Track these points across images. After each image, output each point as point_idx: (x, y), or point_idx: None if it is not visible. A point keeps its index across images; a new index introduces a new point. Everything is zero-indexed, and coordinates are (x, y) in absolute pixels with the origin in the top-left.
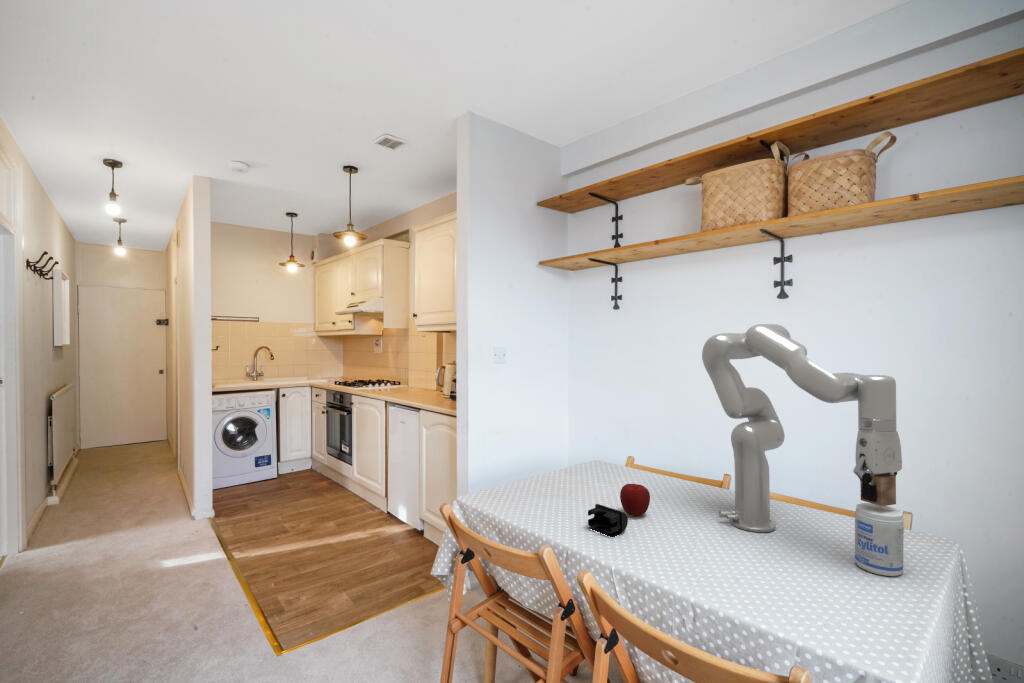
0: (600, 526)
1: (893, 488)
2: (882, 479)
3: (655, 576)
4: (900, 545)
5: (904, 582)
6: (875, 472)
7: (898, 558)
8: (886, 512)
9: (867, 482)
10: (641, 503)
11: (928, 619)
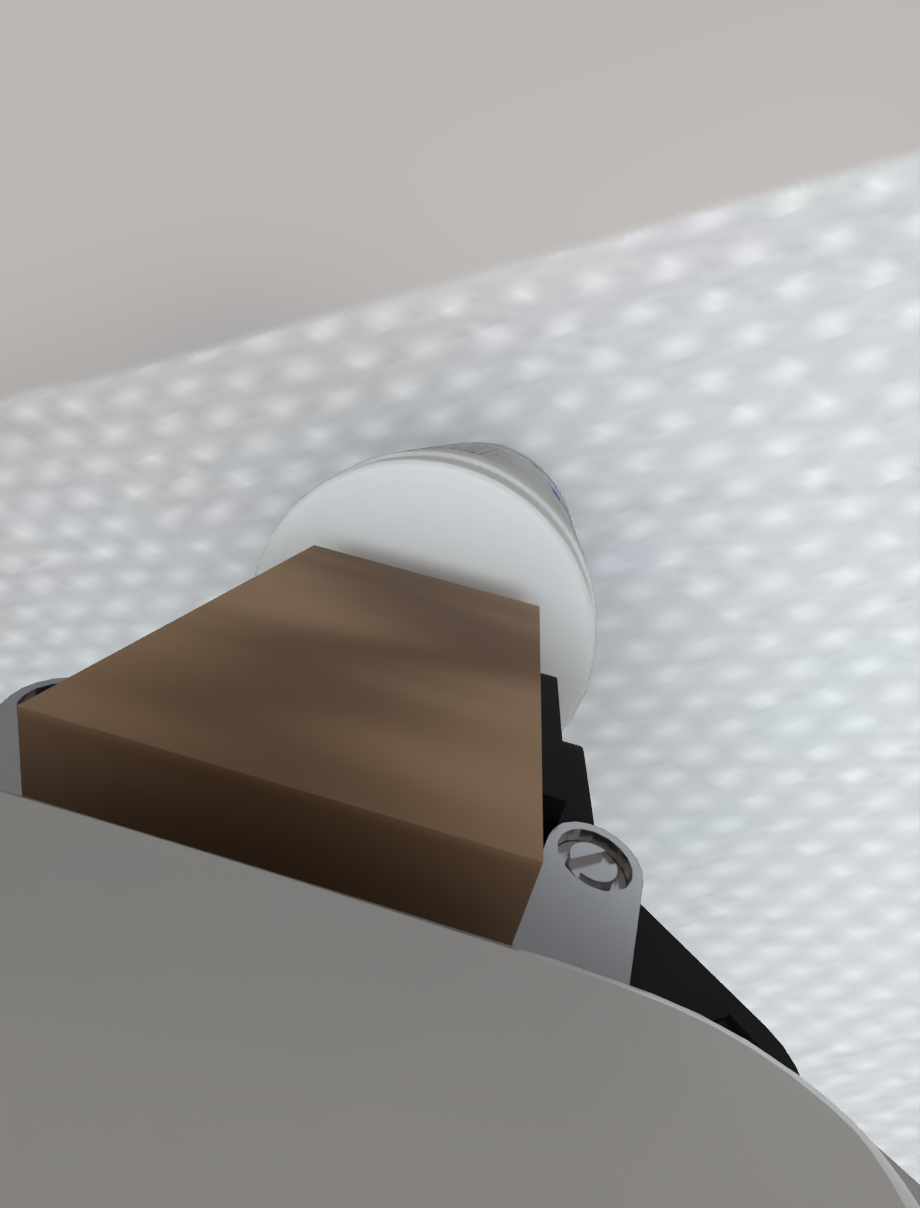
0: None
1: (265, 615)
2: (496, 804)
3: None
4: (475, 446)
5: (540, 407)
6: (834, 1114)
7: (499, 448)
8: (455, 569)
9: (654, 922)
10: None
11: (913, 161)
